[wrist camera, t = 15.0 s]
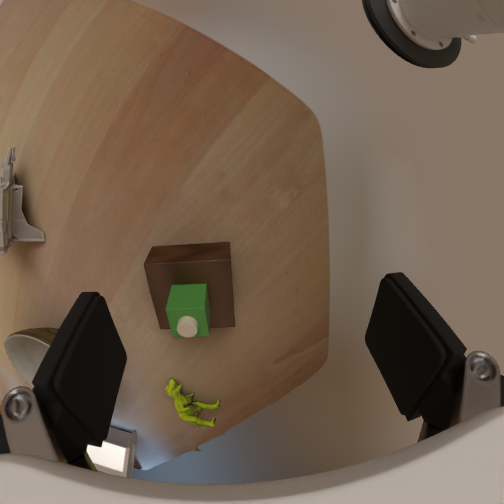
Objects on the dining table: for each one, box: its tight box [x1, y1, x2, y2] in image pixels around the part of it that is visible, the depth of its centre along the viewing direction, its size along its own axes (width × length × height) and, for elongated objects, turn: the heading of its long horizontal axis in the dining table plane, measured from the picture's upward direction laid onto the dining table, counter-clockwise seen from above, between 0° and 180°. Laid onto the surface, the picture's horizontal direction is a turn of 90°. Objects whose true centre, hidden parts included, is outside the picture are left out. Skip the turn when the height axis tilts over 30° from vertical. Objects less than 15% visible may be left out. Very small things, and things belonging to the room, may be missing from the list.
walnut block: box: [144, 242, 235, 329], centre depth 39 cm, size 11×11×5 cm
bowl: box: [5, 328, 59, 388], centre depth 42 cm, size 24×24×10 cm
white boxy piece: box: [87, 427, 137, 478], centre depth 55 cm, size 25×16×19 cm, turn 73°
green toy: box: [166, 284, 210, 337], centre depth 34 cm, size 5×5×6 cm
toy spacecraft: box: [0, 147, 45, 255], centre depth 28 cm, size 8×15×15 cm
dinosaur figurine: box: [165, 379, 220, 430], centre depth 53 cm, size 20×10×6 cm, turn 25°
